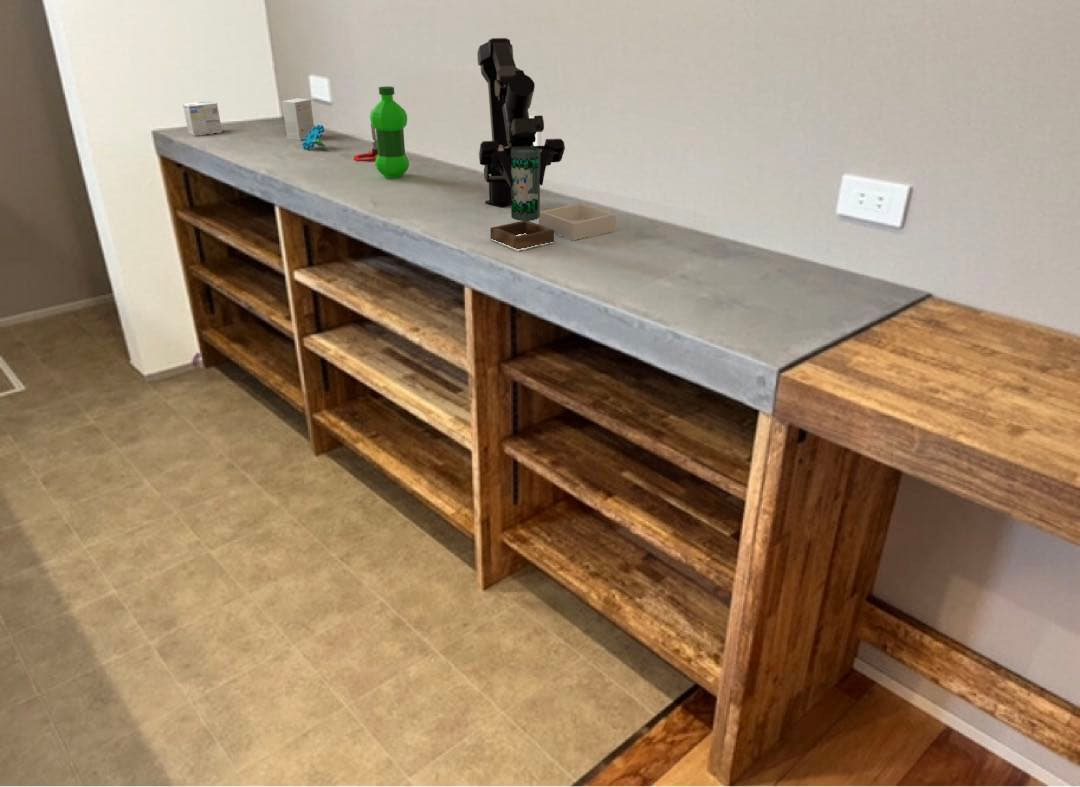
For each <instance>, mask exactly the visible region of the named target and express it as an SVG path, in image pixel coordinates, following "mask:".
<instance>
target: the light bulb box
mask: <svg viewBox="0 0 1080 787" xmlns="http://www.w3.org/2000/svg"><path fill="white" fill-rule="evenodd" d="M182 107H183V113H184V117H185V122H186V127H187V133H188V135H190V134H191V135H190V136H192V135H193V136H192V137H197V136H196V135H200V136H207V135H206V134H209V135H215V134H214V133H217V134H222V133H223V128H222V125H221V120H220V119H221V118H220V113H219V112H220V111H219V107H218V103H217V102H215V101H212V100H207V101H198V102H196V101H195V102H188V103H182ZM221 132H222V133H221Z"/></svg>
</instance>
